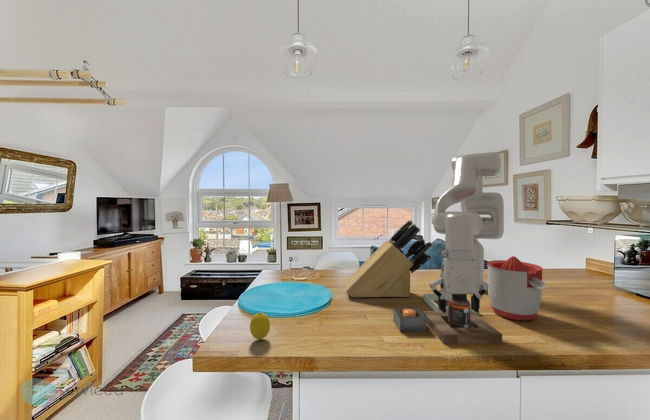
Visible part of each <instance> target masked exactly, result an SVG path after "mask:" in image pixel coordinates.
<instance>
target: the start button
mask: <svg viewBox="0 0 650 420" xmlns="http://www.w3.org/2000/svg"><path fill="white" fill-rule="evenodd" d="M403 316H404V317H409V316H416V311H415V310H412V309H404V310H403Z"/></svg>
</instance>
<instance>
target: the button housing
mask: <svg viewBox="0 0 650 420" xmlns="http://www.w3.org/2000/svg"><path fill="white" fill-rule="evenodd" d="M404 309H412V310H415V311H416V316H409V317H404V316H403V310H404ZM392 316H393V322H394V323H395V325H396V327H397V329H398V331H399V332H400V333H411V332H412V333H419V332H420V333H421V332H426V333H427V332H428V329H427V328H428V324H427V318H426V317H425V316H424V315H423V311H421V310H420V309H419V307H396V308H395V307H393V315H392Z"/></svg>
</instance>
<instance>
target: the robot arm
mask: <svg viewBox="0 0 650 420" xmlns="http://www.w3.org/2000/svg"><path fill="white" fill-rule="evenodd" d="M450 165H451V169H452V171H453V175H452V182H451V187H450V188H449V189H447V190H446V191H445V192H443V194H441V196H439V198H438V199H437V202H436V203H435V207H434V213H433V221H432V223H433V224H432V225H433V228H434V232H436V233H437V234H441V235H444V238H445V239H444V241H445V242H444V243H445V244H444V245H445V247H444V250H441V251H440V256H443V258H442V263H441V267H440V277H439V278H436V279H434V280H433V281H431V282H429V283H428V284H429V287H430V289H431V290H432V292H433V294H436V295H437V296H438V301H437V305H438V307H439V309H440V310H441V311H442V312H443V313H446V306H447V301H446V300H445V299H444V298H445V297H446V296H447V294H467V295H471V296H470V302H471V309H472V310H474V311H475V312H477V313H479V312H480V307H481V306H480V302H481V299H482V298H483V296H484V295H485V294H486V293H487V291H488V286H489V284H488V282H486V281H484V280H485V278H484V277H485V276H484V275H485V250H484V246H483V244H482V243H481V242H480V241H479V240H478V239H484V240H499V239H501V238H502V237H503V235H504V227H505V226H504V225H505V220H504V219H505V215H504V213H505V212H504V210H505V206H504V198H503V195H502V194H501V193H499V192H496V191H495V192H494V191H493V192H490V191H489V192H488V191H487V192H485V191H483V189H484V188H483V180H482V178H481V177H495V176H498V175H499V174H500V172H501V166H502V159H501V156H500V154H499V153H498V152H494V151H493V152H492V151H491V152H479V153H477V152H476V153H467V154H460V155H457V156H454V157H453V158H452V159H451V162H450ZM458 203H460V209H461V211H446V210H448V208H449V207H451V206H453V205H455V204H458ZM480 215H481V216H480ZM483 215H484V216H483ZM437 286H439V287H440V289H439V290H438V289H437Z"/></svg>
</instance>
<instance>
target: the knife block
mask: <svg viewBox="0 0 650 420" xmlns="http://www.w3.org/2000/svg"><path fill="white" fill-rule="evenodd" d="M419 232H421V229H420V227H419V226H417V225H416V224H415V223H414V222H413V221H412V220H411V219H409V220H408V221H407V222H405V223H404V224H403V225H402V226H401V227H400V228H399V229H398V230H397V231H396V232H395V233H394V234H393V236H391V238H390V239H389V240H385V241H383V243H382V244H381V245H380V246H379V247H378V248H377V249H376V250H375V251H374V252H373V253H372V254H371V255H369V257H368V258H367V259H366V260H365V261H364V262H363V263H362V264H361V265H360V267H359V268H357V269H356V270H355V271H354V273H352V274H351V275H350V276H349V277H348V278H347V279H346V280H345V282H344V286H345V291H346V293H347V295H349V296H350V297H351V298H384V297H385V298H387V297H389V298H394V297H396V298H397V297H401V298H402V297H403V298H408V297H410V295H411V274H413V273H415V272H416V271H418V270H419V269H420V268H421V267H423V265H425V264H426V263H427V262H428V261H430V260H431V258H432V257H431V256H430V255H428V254H427V253H426V252H427V251H428V249H430V248H431V247H432V246H433V244H432V241H428V242H426V240H425V239H424V238H422V239H420V240H419V239H418V240H416V241H414V242H413V243H412V244H411V245H410V247H409V248H408V249H407V251H406V253H405V254H404V253H403V252H401V251H400V250H402V249H404V247H405V246H406V245H407V244H409V243H410V242H411V241H412V240H413V239H414V237H416V235H417V234H418V233H419ZM411 256H412V257H411ZM410 257H411V258H410ZM409 258H410V259H409Z"/></svg>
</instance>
